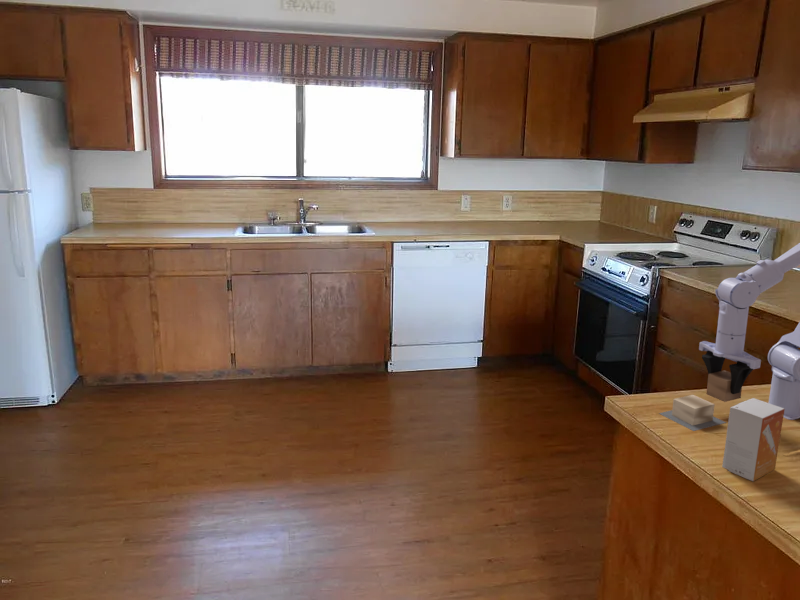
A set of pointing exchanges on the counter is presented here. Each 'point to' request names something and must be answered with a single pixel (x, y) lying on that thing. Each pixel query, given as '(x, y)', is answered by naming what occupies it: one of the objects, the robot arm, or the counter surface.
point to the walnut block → (721, 386)
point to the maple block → (693, 409)
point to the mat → (689, 426)
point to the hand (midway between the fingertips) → (724, 388)
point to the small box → (753, 438)
